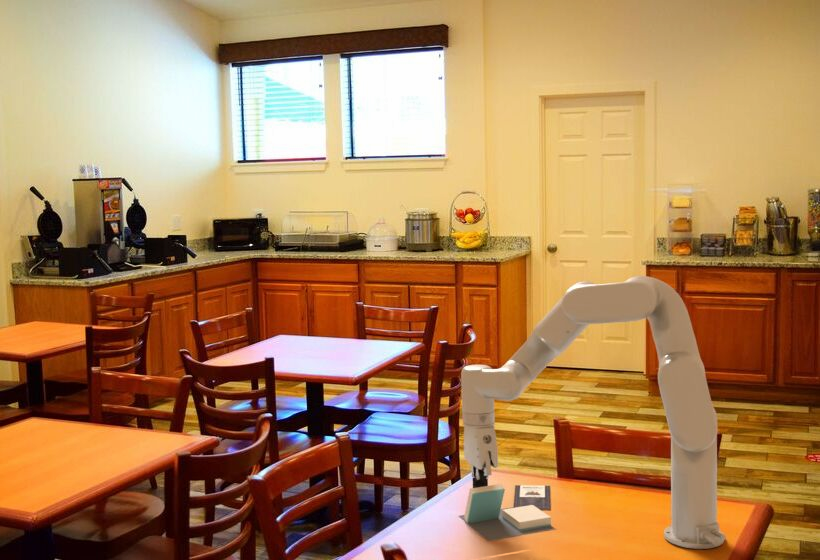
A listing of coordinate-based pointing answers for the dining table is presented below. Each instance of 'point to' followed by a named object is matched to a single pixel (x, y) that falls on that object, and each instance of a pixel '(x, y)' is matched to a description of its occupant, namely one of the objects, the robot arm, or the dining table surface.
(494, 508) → the tile
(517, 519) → the tile
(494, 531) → the mat
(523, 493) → the chocolate bar
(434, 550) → the dining table surface
